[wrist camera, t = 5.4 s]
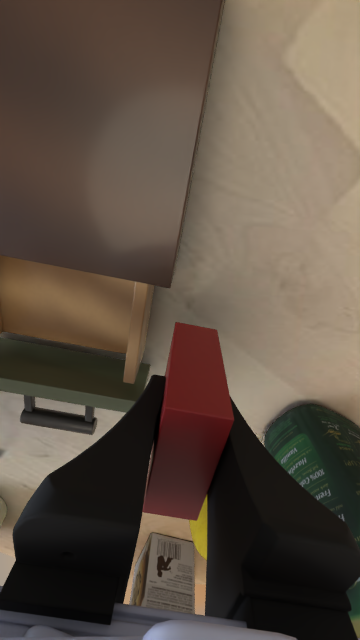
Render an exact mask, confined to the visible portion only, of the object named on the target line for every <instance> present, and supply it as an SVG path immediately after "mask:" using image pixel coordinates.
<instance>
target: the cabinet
mask: <svg viewBox="0 0 360 640" xmlns="http://www.w3.org/2000/svg"><path fill="white" fill-rule="evenodd" d="M224 3H225V0H0V255H1V256H6V257H12V258H17V259H22V260H27V261H32V262H37V263H42V264H47V265H53V266H58V267H63V268H68V269H73V270H78V271H83V272H89V273H94V274H99V275H104V276H109V277H114V278H119V279H125V280H130V281H135V282H140V283H145V284H150V285H155V286H161V287H166V288H170V287H171V283H172V279H173V275H174V271H175V267H176V263H177V258H178V252H179V247H180V241H181V236H182V230H183V225H184V220H185V214H186V209H187V203H188V198H189V193H190V187H191V182H192V176H193V171H194V165H195V160H196V155H197V149H198V144H199V138H200V133H201V127H202V122H203V117H204V111H205V106H206V100H207V95H208V90H209V84H210V79H211V73H212V68H213V62H214V57H215V52H216V46H217V41H218V35H219V30H220V25H221V19H222V14H223V8H224Z"/></svg>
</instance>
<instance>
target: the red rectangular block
mask: <svg viewBox="0 0 360 640" xmlns="http://www.w3.org/2000/svg"><path fill="white" fill-rule="evenodd" d="M165 377H166V382H165V390H164V395H163V400H162V405H161V410H160V415H159V420H158V424H157V429H156V434H155V439H154V443H153V447H152V452H151V458H150V464H149V470H148V477H147V483H146V489H145V496H144V504H143V511H142V512H144V513H151V514H157V515H163V516H169V517H176V518H182V519H188V520H194V521H197V519H198V517H199V514H200V511H201V509H202V506H203V503H204V500H205V498H206V495H207V492H208V490H209V487H210V484H211V481H212V479H213V476H214V473H215V471H216V468H217V465H218V462H219V460H220V457H221V454H222V452H223V449H224V446H225V443H226V441H227V438H228V435H229V433H230V430H231V427H232V424H233V422H234V416H233V411H232V405H231V400H230V395H229V390H228V385H227V379H226V374H225V369H224V364H223V358H222V353H221V348H220V343H219V337H218V332H217V330H215V329H210V328H205V327H200V326H194V325H189V324H184V323H179V322H176V323H175V328H174V333H173V338H172V343H171V348H170V353H169V358H168V363H167V368H166V373H165Z"/></svg>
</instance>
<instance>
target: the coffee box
mask: <svg viewBox="0 0 360 640" xmlns="http://www.w3.org/2000/svg"><path fill="white" fill-rule="evenodd" d="M194 587H195V583H194V543H193V542H189V541H185V540H180V539H176V538H172V537H168V536H164V535H160V534H156V533H151V534H150V536H149V538H148V541H147V543H146V545H145V547H144V549H143V551H142V553H141V555H140V557H139V559H138V561H137V563H136V565H135V570H134V577H133V584H132V591H131V597H130V604H129V605H135V606H142V607H149V608H156V609H162V610H169V611H176V612H183V613H190V614H195V610H194V609H195V608H194V603H195V597H194V595H195V594H194Z"/></svg>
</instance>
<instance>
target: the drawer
mask: <svg viewBox="0 0 360 640" xmlns="http://www.w3.org/2000/svg"><path fill="white" fill-rule="evenodd" d="M153 291H154V285H150V284H145V283H140V282H135V281H130V280H125V279H119V278H114V277H109V276H104V275H99V274H94V273H89V272H83V271H78V270H73V269H68V268H63V267H58V266H53V265H47V264H42V263H37V262H32V261H27V260H22V259H17V258H12V257H6V256H1V255H0V334H1V333H3V332H9V333H14V334H20V335H25V336H31V337H36V338H42V339H47V340H53V341H58V342H64V343H69V344H75V345H80V346H85V347H91V348H96V349H102V350H107V351H113V352H118V353H124V354H126V360H122V359H117V358H111V357H106V356H100V355H95V354H89V353H84V352H78V351H73V350H67V349H62V348H56V347H51V346H45V345H40V344H34V343H29V342H23V341H18V340H12V339H7V338H1V337H0V391H5V392H11V393H16V394H22V395H24V404H25V408H24V410H23V411H22V414H21V417H20V422H21V423H24V424H30V425H36V426H42V427H48V428H54V429H60V430H66V431H72V432H77V433H83V434H89V435H93V434H94V432H95V429H96V425H97V418H96V417H94V409H95V407H97V408H103V409H108V410H114V411H120V412H126V413H127V412H128V411H129V410H130V408H131V407H132V406H133V405H134V404H135V402H136V401H137V400H138V398H139V397H140V395H141V394H142V393H143V391H144V390H145V388H146V385H147V381H148V376H149V371H150V364H144V363H141V360H142V357H143V354H144V350H145V343H146V337H147V330H148V324H149V317H150V311H151V304H152V298H153ZM35 397H39V398H45V399H51V400H57V401H62V402H68V403H74V404H80V405H85V406H86V411H85V416H84V415H78V414H73V413H67V412H61V411H55V410H49V409H44V408H38V407H35Z"/></svg>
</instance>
